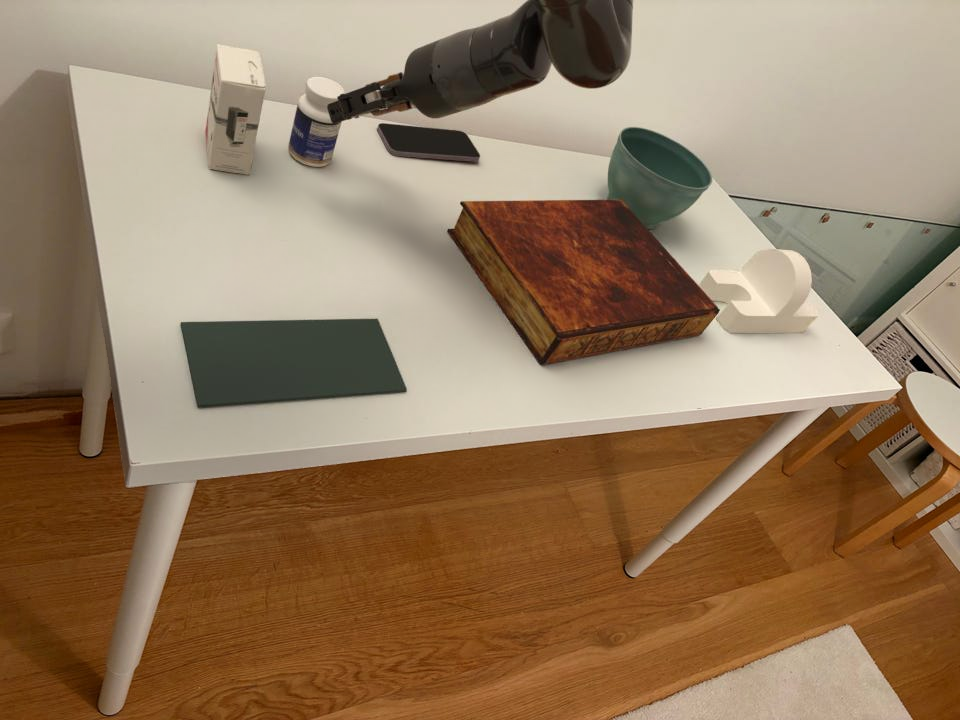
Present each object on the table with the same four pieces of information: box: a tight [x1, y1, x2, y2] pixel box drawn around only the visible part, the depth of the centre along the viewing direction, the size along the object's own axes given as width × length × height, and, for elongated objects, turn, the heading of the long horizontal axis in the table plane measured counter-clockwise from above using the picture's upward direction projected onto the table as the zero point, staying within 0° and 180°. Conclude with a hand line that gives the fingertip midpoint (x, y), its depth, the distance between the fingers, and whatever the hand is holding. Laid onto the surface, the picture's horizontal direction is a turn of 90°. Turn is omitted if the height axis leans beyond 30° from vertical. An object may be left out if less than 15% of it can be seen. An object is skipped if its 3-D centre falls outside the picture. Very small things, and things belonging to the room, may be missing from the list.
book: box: [447, 199, 721, 366], centre depth 96 cm, size 30×24×5 cm
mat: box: [180, 318, 408, 409], centre depth 70 cm, size 20×10×1 cm, turn 114°
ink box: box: [205, 43, 267, 176], centre depth 85 cm, size 9×5×12 cm, turn 17°
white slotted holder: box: [698, 248, 820, 334], centre depth 108 cm, size 10×18×11 cm, turn 112°
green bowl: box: [606, 126, 713, 230], centre depth 115 cm, size 16×16×11 cm
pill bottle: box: [287, 76, 346, 168], centre depth 92 cm, size 6×6×10 cm
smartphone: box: [376, 122, 481, 163], centre depth 108 cm, size 7×1×15 cm
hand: (356, 109), depth 87 cm, fingers open, 8 cm apart
